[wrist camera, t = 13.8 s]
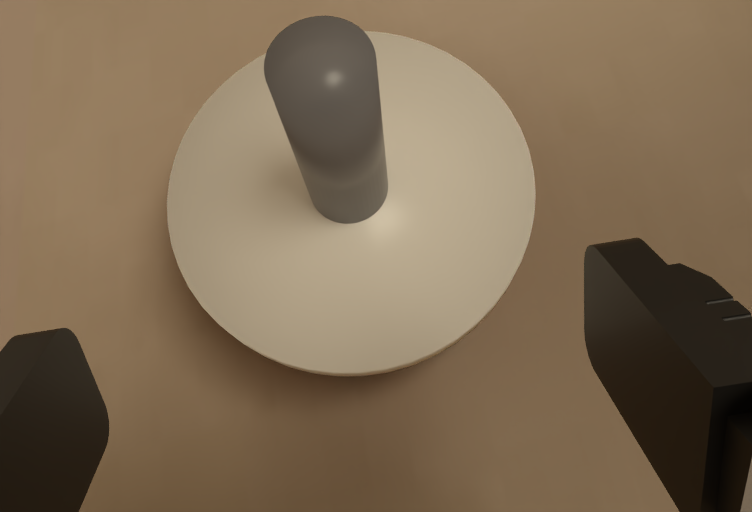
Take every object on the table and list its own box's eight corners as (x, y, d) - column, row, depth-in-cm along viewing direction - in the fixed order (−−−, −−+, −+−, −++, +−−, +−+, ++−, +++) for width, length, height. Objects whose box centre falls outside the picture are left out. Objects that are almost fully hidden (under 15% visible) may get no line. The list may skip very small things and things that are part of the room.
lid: (282, 5, 29) (225, -193, 21) (583, 121, 27) (665, -49, 18) (110, 279, 26) (-46, 181, 17) (439, 444, 23) (453, 427, 14)
